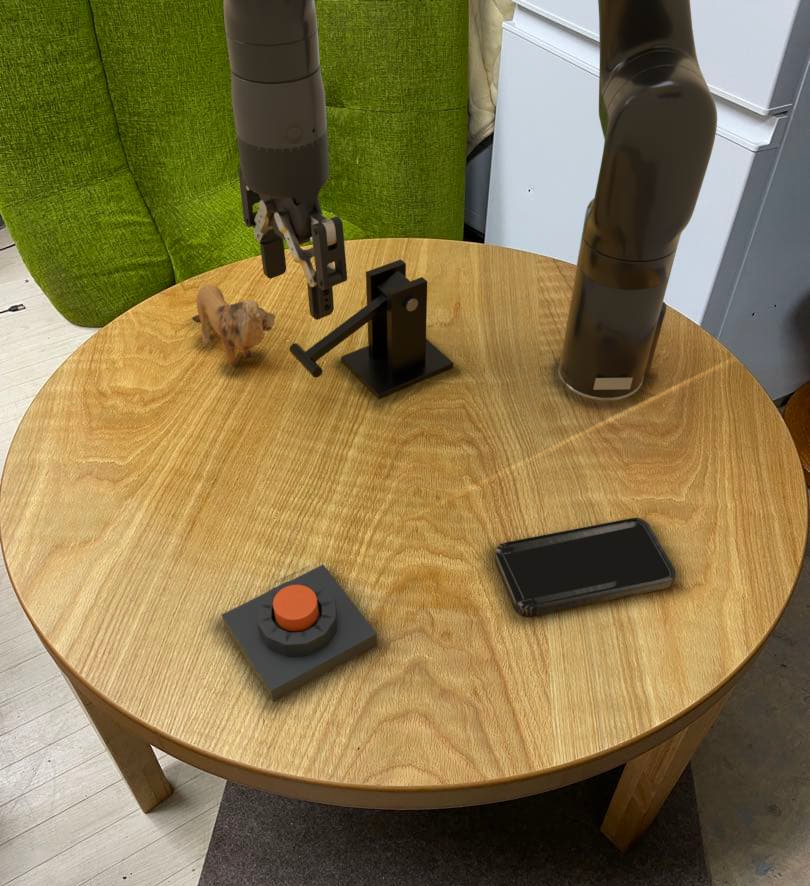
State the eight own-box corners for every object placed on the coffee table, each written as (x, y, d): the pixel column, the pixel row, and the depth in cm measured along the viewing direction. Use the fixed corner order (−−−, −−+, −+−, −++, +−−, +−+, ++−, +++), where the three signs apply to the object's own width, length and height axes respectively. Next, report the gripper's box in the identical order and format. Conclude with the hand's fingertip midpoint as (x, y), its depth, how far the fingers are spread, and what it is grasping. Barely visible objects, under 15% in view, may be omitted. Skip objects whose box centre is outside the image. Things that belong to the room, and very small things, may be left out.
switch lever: (317, 383, 89) (308, 368, 87) (294, 358, 92) (284, 343, 90) (423, 303, 91) (417, 286, 89) (397, 280, 93) (390, 264, 91)
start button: (305, 590, 74) (303, 577, 72) (326, 619, 72) (325, 606, 70) (267, 609, 72) (265, 596, 71) (288, 639, 70) (286, 626, 69)
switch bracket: (378, 403, 94) (376, 310, 85) (341, 365, 99) (334, 273, 90) (453, 371, 98) (458, 279, 89) (413, 335, 102) (414, 244, 93)
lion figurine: (287, 368, 98) (279, 300, 91) (250, 389, 96) (238, 321, 89) (210, 314, 105) (197, 246, 98) (174, 332, 103) (157, 264, 96)
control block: (324, 576, 79) (321, 551, 76) (377, 645, 74) (376, 621, 71) (224, 626, 75) (217, 601, 72) (273, 702, 70) (268, 679, 68)
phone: (492, 544, 80) (643, 515, 82) (491, 552, 80) (641, 523, 83) (520, 612, 75) (680, 579, 77) (519, 620, 75) (677, 587, 78)
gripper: (367, 144, 69) (372, 316, 82) (276, 84, 77) (292, 250, 89) (287, 170, 66) (304, 344, 79) (199, 105, 74) (227, 273, 86)
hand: (298, 294), depth 84 cm, fingers open, 8 cm apart
